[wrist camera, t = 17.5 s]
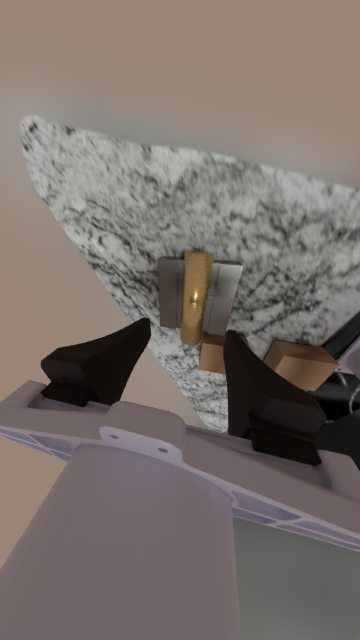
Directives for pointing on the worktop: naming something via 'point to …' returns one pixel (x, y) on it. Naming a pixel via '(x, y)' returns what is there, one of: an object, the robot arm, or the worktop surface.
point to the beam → (276, 361)
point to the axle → (195, 295)
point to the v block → (217, 300)
